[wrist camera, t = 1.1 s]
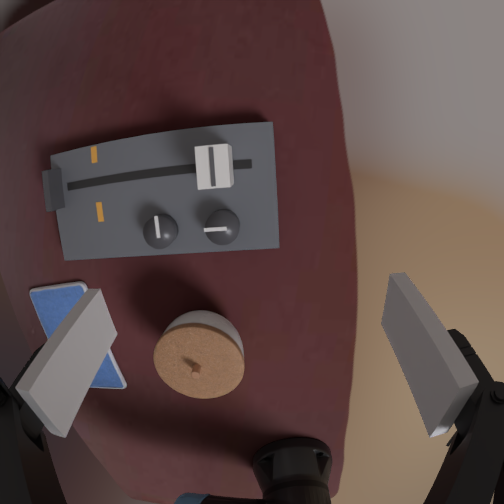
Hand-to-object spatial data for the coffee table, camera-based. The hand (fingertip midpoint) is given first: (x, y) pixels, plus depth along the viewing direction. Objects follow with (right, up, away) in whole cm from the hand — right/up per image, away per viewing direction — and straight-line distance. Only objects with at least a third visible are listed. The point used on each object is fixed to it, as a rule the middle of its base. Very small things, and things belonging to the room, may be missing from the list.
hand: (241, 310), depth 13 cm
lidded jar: (-6, -8, +28) cm, 30 cm away
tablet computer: (-28, -11, +29) cm, 42 cm away
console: (-11, +10, +22) cm, 27 cm away
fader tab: (-3, +12, +19) cm, 22 cm away
